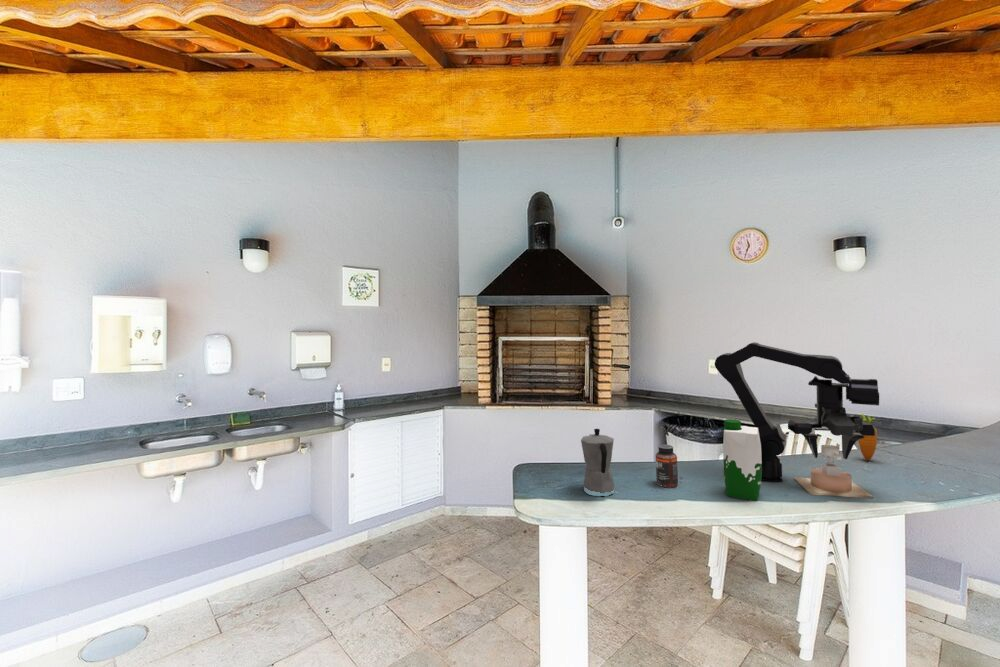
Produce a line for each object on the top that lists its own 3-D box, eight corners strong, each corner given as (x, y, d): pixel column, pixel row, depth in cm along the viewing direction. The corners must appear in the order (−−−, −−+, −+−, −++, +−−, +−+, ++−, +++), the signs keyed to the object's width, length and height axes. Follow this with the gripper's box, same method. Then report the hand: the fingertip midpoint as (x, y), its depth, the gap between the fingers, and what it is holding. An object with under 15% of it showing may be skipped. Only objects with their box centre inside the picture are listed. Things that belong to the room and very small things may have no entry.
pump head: (830, 469, 115) (830, 452, 115) (818, 461, 122) (818, 444, 121) (848, 470, 114) (848, 452, 114) (835, 461, 121) (835, 444, 120)
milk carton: (725, 485, 124) (724, 416, 123) (762, 491, 119) (761, 419, 118) (722, 496, 116) (721, 423, 116) (762, 503, 112) (760, 426, 111)
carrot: (881, 463, 136) (881, 416, 136) (863, 463, 137) (862, 416, 137) (871, 458, 141) (870, 413, 140) (854, 458, 142) (853, 413, 141)
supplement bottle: (678, 481, 128) (677, 444, 128) (677, 489, 123) (676, 450, 122) (657, 479, 131) (656, 442, 130) (655, 486, 125) (654, 448, 125)
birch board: (810, 494, 116) (810, 492, 116) (794, 479, 126) (793, 477, 126) (872, 498, 112) (872, 495, 112) (850, 482, 123) (850, 480, 123)
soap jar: (819, 491, 116) (819, 469, 116) (805, 479, 125) (804, 459, 125) (858, 493, 114) (858, 471, 114) (841, 480, 122) (841, 460, 122)
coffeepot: (578, 482, 131) (576, 423, 130) (609, 481, 130) (607, 422, 130) (588, 504, 115) (586, 437, 115) (623, 503, 115) (621, 436, 114)
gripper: (803, 407, 113) (804, 466, 114) (888, 408, 108) (888, 470, 109) (786, 399, 124) (787, 453, 124) (863, 400, 119) (864, 456, 120)
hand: (830, 458), depth 119 cm, fingers open, 7 cm apart
